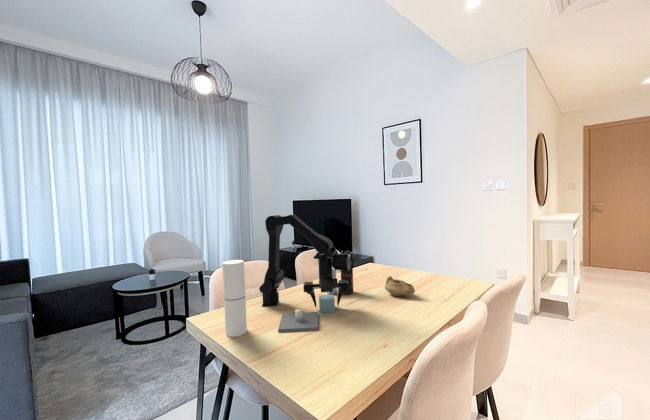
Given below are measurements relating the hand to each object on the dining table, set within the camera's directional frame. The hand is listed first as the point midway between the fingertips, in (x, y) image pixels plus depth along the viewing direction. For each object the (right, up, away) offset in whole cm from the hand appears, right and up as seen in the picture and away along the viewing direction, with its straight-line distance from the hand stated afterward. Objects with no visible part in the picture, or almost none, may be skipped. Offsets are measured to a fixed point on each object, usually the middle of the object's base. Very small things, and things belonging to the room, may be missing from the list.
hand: (326, 306), depth 119 cm
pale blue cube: (0, -1, 0) cm, 1 cm away
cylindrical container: (-32, -3, -18) cm, 37 cm away
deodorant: (+10, -1, +20) cm, 23 cm away
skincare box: (+2, -1, +22) cm, 22 cm away
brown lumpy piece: (+34, 0, +14) cm, 37 cm away
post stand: (-10, -2, -12) cm, 16 cm away
